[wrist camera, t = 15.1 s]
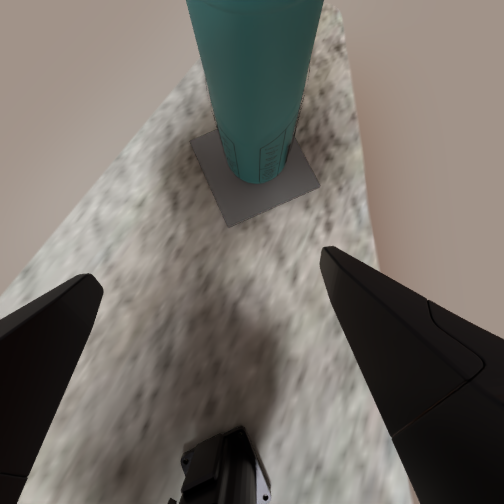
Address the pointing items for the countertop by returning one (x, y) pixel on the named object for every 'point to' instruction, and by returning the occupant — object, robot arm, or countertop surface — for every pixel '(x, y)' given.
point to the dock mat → (249, 194)
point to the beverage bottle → (255, 76)
